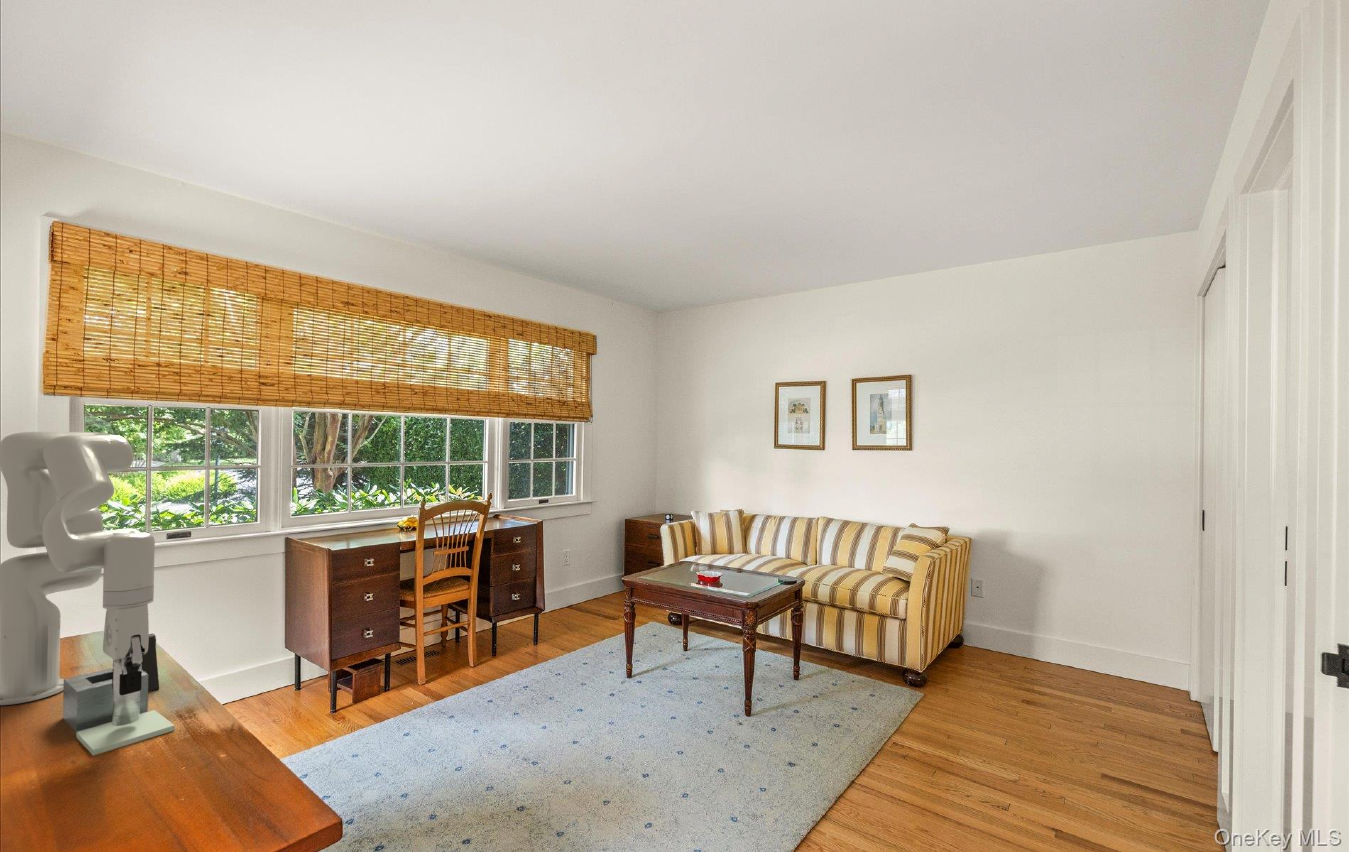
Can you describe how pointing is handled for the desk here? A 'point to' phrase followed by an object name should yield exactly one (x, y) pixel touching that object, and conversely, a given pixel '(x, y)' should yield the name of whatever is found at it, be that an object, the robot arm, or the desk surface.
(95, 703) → the chuck block
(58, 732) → the desk surface
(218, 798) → the desk surface
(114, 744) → the mat
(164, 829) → the desk surface
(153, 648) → the phone stand
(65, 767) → the desk surface
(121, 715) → the grey metal cylinder
